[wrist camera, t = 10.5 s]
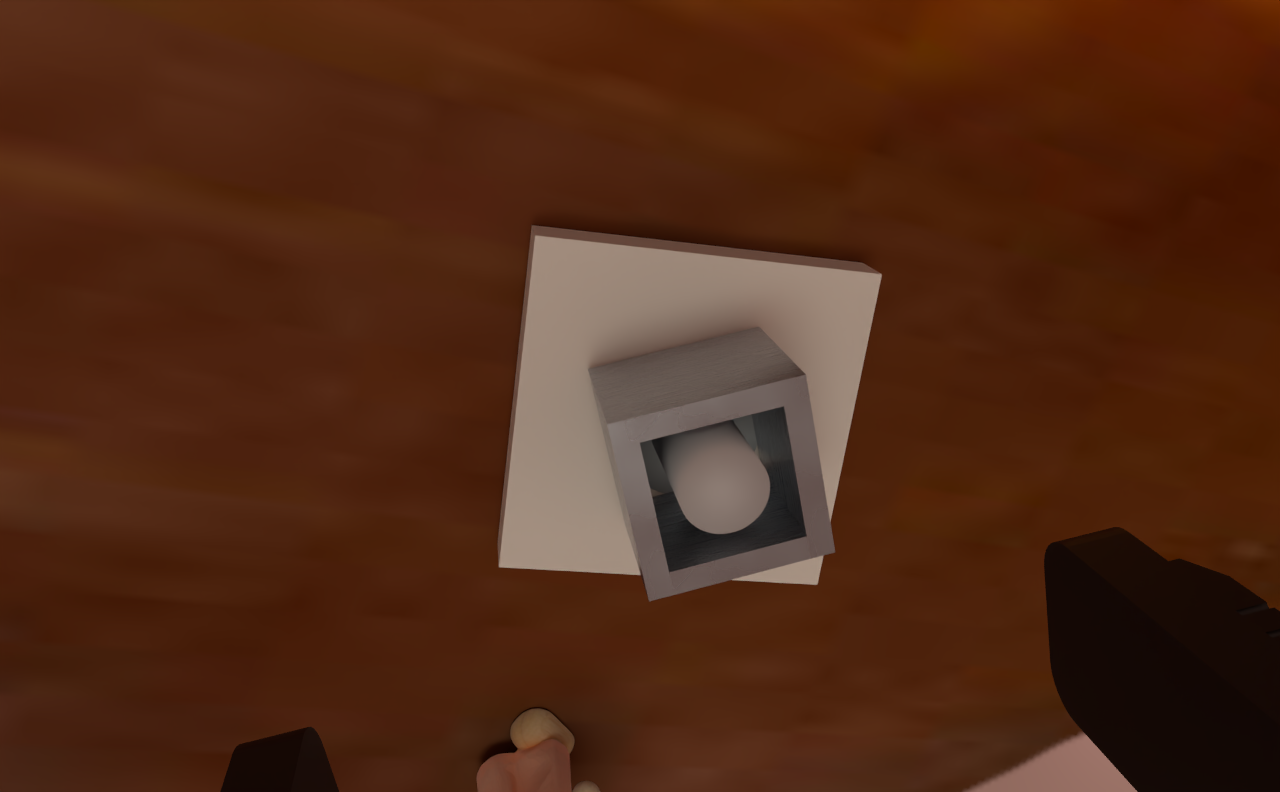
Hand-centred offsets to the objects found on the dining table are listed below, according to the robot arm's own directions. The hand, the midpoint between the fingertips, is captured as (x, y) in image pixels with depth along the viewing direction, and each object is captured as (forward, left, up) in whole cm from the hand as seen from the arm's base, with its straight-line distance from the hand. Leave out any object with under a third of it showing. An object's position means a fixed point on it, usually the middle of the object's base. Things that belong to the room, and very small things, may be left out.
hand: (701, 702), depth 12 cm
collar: (+6, -6, -25) cm, 26 cm away
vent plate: (+6, -5, -27) cm, 28 cm away
